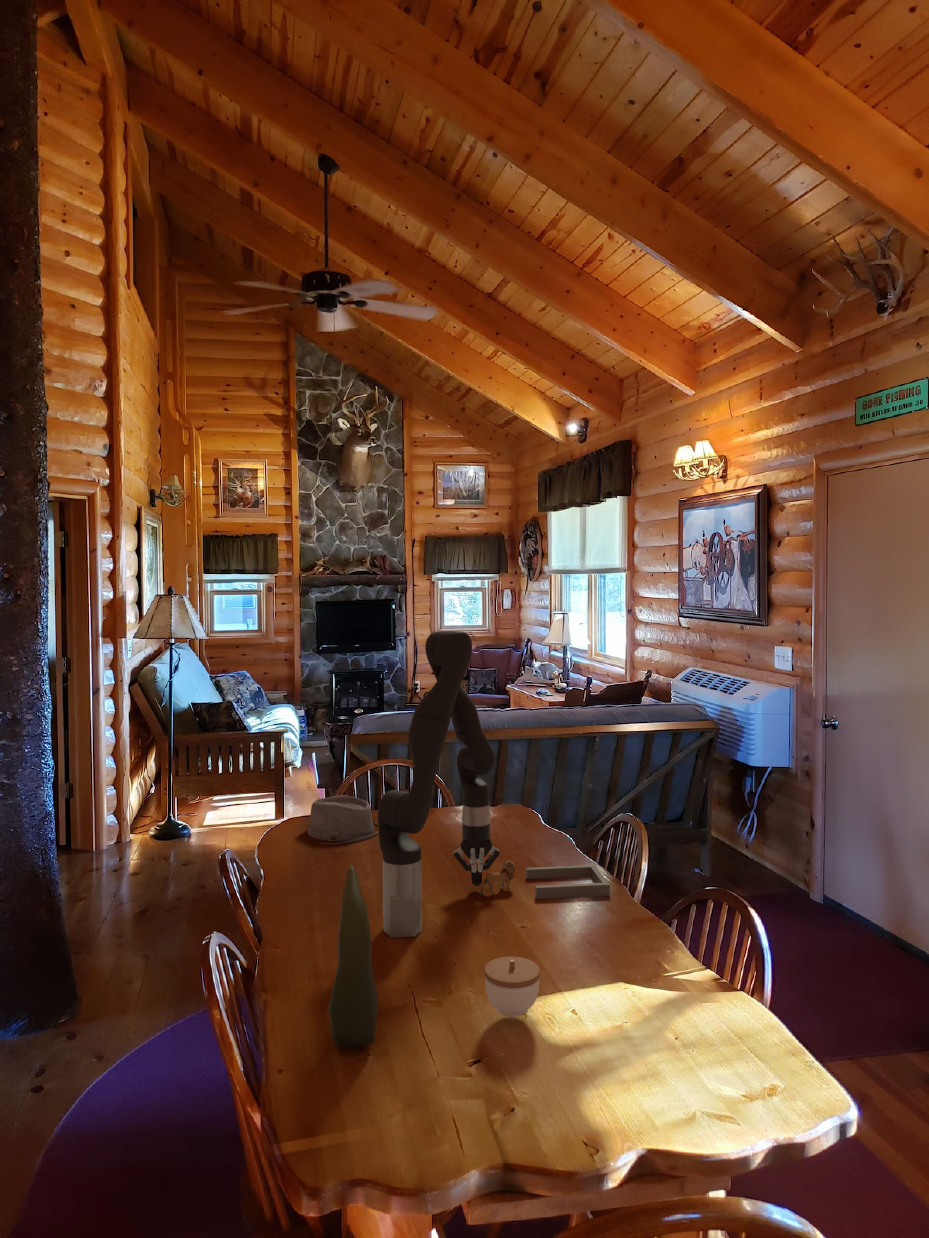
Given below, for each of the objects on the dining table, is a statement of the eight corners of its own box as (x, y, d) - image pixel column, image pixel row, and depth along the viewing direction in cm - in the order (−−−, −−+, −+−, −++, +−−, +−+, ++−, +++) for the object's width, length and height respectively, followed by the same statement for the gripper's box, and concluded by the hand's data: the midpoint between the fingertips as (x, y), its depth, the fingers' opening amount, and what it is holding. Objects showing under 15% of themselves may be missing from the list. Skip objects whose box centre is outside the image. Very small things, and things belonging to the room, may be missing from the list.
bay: (609, 895, 211) (609, 884, 211) (536, 899, 209) (536, 887, 209) (594, 875, 226) (594, 864, 226) (526, 878, 224) (526, 867, 224)
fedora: (319, 822, 279) (319, 787, 278) (392, 829, 270) (392, 793, 269) (282, 843, 256) (281, 805, 255) (360, 852, 247) (359, 812, 247)
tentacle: (374, 1017, 152) (372, 860, 151) (383, 1053, 140) (381, 884, 139) (325, 1023, 150) (323, 865, 149) (330, 1061, 138) (328, 889, 137)
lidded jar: (474, 1014, 153) (474, 966, 153) (498, 989, 162) (498, 943, 162) (526, 1028, 148) (526, 978, 148) (548, 1002, 158) (548, 954, 157)
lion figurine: (508, 883, 220) (508, 857, 220) (519, 888, 217) (519, 861, 216) (475, 894, 212) (475, 867, 212) (485, 899, 209) (485, 871, 209)
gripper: (452, 825, 210) (453, 891, 211) (502, 823, 211) (503, 888, 212) (450, 817, 217) (450, 880, 218) (498, 815, 219) (498, 878, 220)
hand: (476, 884), depth 215 cm, fingers closed
